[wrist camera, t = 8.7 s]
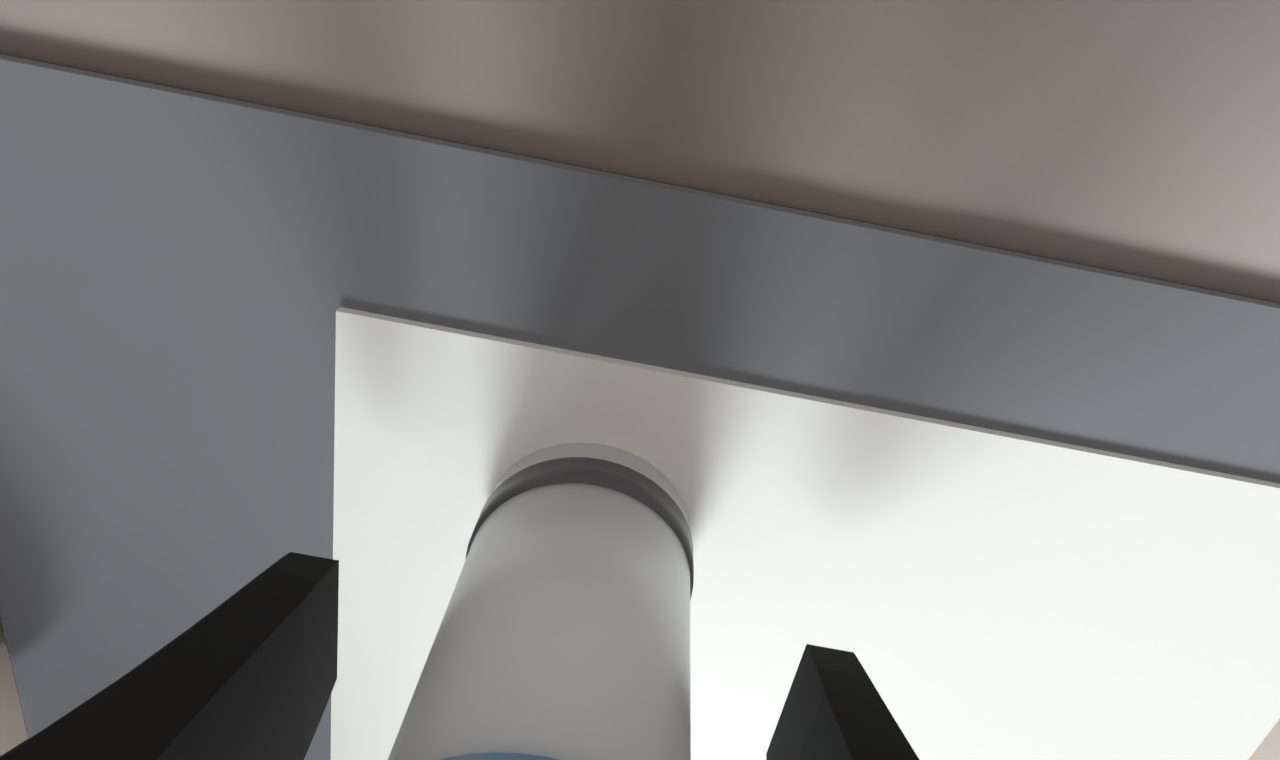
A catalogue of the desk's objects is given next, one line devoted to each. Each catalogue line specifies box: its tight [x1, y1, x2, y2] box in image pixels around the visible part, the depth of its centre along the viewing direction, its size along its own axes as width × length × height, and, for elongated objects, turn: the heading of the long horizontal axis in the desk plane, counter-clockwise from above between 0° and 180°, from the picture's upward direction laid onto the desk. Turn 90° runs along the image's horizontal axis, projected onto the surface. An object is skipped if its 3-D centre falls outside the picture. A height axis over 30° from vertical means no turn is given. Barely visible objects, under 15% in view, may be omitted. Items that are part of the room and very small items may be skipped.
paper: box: [330, 307, 1280, 760], centre depth 14 cm, size 12×16×1 cm
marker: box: [388, 443, 694, 760], centre depth 9 cm, size 3×3×8 cm
